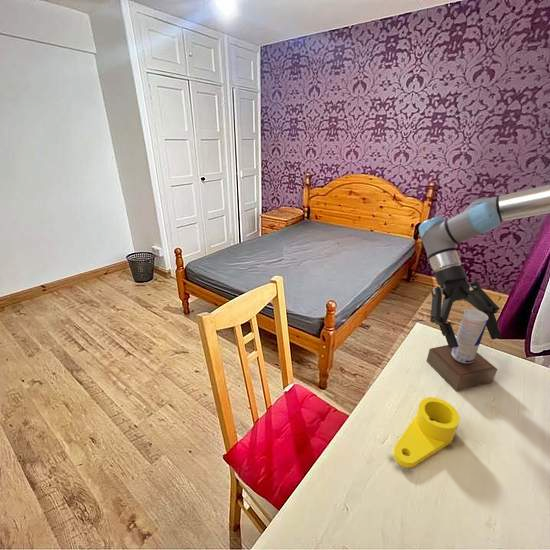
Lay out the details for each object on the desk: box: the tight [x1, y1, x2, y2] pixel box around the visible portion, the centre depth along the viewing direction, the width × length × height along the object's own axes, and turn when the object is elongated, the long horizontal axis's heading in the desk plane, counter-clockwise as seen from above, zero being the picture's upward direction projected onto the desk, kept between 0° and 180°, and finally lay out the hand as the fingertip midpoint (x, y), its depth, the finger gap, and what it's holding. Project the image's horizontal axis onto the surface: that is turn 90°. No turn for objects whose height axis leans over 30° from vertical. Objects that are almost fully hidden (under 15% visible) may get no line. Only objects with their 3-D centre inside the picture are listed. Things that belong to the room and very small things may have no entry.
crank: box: [392, 396, 460, 469], centre depth 69 cm, size 18×8×6 cm, turn 125°
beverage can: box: [451, 308, 488, 364], centre depth 84 cm, size 6×6×15 cm
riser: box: [426, 344, 498, 392], centre depth 88 cm, size 12×12×5 cm
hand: (475, 343), depth 82 cm, fingers open, 13 cm apart
